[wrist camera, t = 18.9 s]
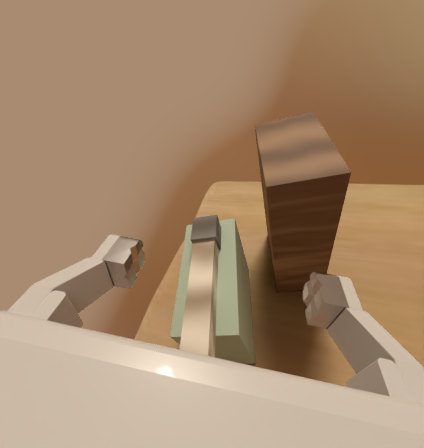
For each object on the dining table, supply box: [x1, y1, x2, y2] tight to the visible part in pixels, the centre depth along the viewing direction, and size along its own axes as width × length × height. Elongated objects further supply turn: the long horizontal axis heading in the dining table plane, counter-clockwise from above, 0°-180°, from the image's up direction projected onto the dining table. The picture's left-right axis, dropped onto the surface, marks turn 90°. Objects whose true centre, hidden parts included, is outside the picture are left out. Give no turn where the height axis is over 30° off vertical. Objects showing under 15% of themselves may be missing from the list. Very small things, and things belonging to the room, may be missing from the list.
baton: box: [179, 215, 221, 357], centre depth 27 cm, size 22×4×3 cm, turn 177°
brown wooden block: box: [255, 112, 351, 292], centre depth 36 cm, size 14×8×26 cm, turn 178°
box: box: [170, 219, 256, 364], centre depth 36 cm, size 17×8×16 cm, turn 178°
